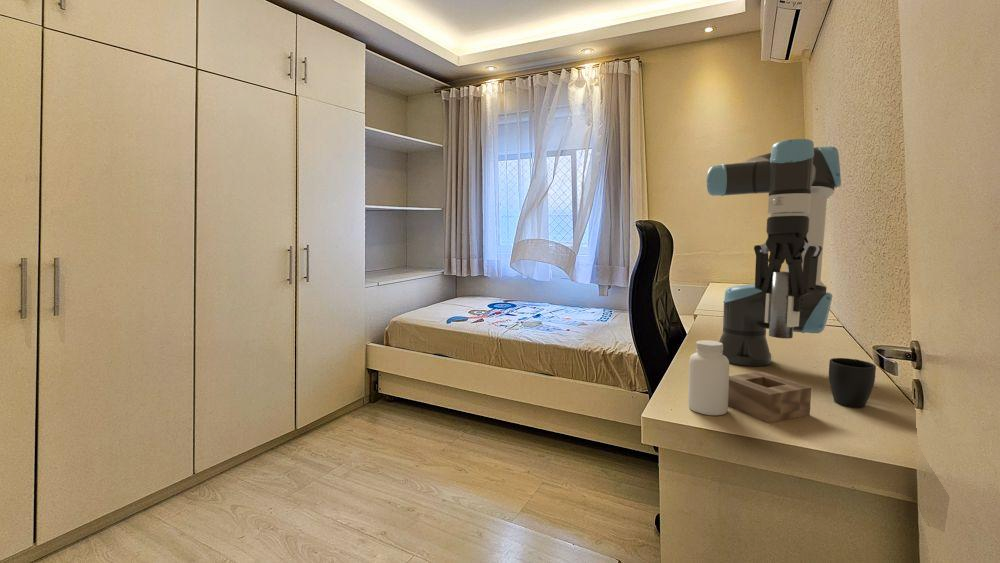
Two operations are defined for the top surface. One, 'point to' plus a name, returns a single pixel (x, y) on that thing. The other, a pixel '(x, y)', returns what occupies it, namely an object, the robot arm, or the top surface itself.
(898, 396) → the top surface
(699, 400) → the pill bottle
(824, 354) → the top surface
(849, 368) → the mug
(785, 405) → the socket block
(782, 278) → the peg
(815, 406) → the top surface
